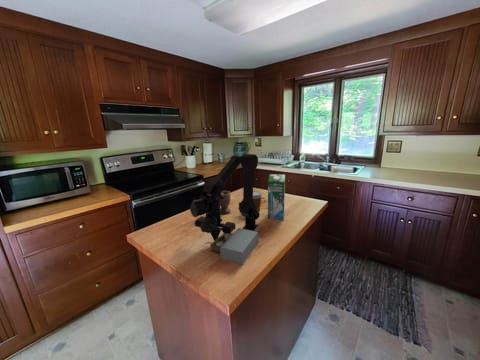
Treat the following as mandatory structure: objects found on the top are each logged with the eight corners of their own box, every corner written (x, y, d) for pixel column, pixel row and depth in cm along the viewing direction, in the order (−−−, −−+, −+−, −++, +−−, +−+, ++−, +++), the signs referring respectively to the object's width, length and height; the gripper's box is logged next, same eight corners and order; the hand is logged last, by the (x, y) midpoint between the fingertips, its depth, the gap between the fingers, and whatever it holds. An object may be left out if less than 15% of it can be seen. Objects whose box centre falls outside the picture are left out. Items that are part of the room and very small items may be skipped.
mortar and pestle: (220, 217, 125) (218, 185, 120) (211, 213, 130) (209, 183, 125) (234, 211, 133) (232, 181, 128) (224, 208, 139) (223, 179, 134)
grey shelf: (238, 238, 101) (238, 228, 99) (258, 242, 96) (257, 231, 95) (220, 258, 85) (220, 247, 84) (242, 264, 81) (242, 252, 80)
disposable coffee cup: (244, 211, 133) (243, 193, 130) (254, 206, 139) (253, 190, 137) (255, 215, 126) (255, 196, 123) (265, 210, 133) (265, 192, 130)
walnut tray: (223, 255, 88) (223, 247, 87) (210, 251, 90) (210, 244, 90) (236, 241, 98) (236, 234, 97) (224, 238, 101) (224, 231, 100)
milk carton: (267, 218, 121) (268, 177, 115) (269, 212, 129) (269, 173, 123) (283, 220, 119) (284, 177, 113) (284, 213, 127) (285, 174, 121)
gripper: (185, 213, 89) (188, 245, 93) (222, 221, 81) (224, 255, 85) (200, 204, 99) (203, 234, 102) (235, 210, 91) (236, 242, 94)
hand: (215, 241), depth 96 cm, fingers closed
